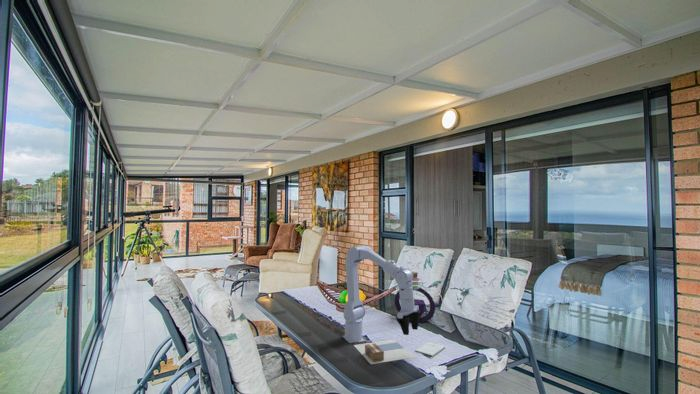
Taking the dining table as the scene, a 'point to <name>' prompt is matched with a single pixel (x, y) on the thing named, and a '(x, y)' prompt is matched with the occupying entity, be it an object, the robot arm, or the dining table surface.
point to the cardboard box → (374, 352)
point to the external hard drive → (430, 349)
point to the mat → (387, 351)
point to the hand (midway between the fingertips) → (410, 331)
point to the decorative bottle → (419, 302)
